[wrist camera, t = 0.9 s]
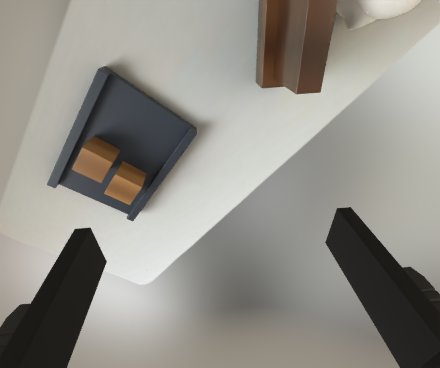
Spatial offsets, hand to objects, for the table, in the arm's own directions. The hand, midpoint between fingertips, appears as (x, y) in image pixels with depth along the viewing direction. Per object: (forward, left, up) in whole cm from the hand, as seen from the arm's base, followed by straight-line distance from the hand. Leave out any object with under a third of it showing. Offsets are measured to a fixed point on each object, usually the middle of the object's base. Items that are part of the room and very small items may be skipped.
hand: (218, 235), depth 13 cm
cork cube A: (+5, -16, -24) cm, 29 cm away
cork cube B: (+10, -13, -24) cm, 29 cm away
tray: (+6, -13, -25) cm, 29 cm away
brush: (-8, +10, -25) cm, 28 cm away
